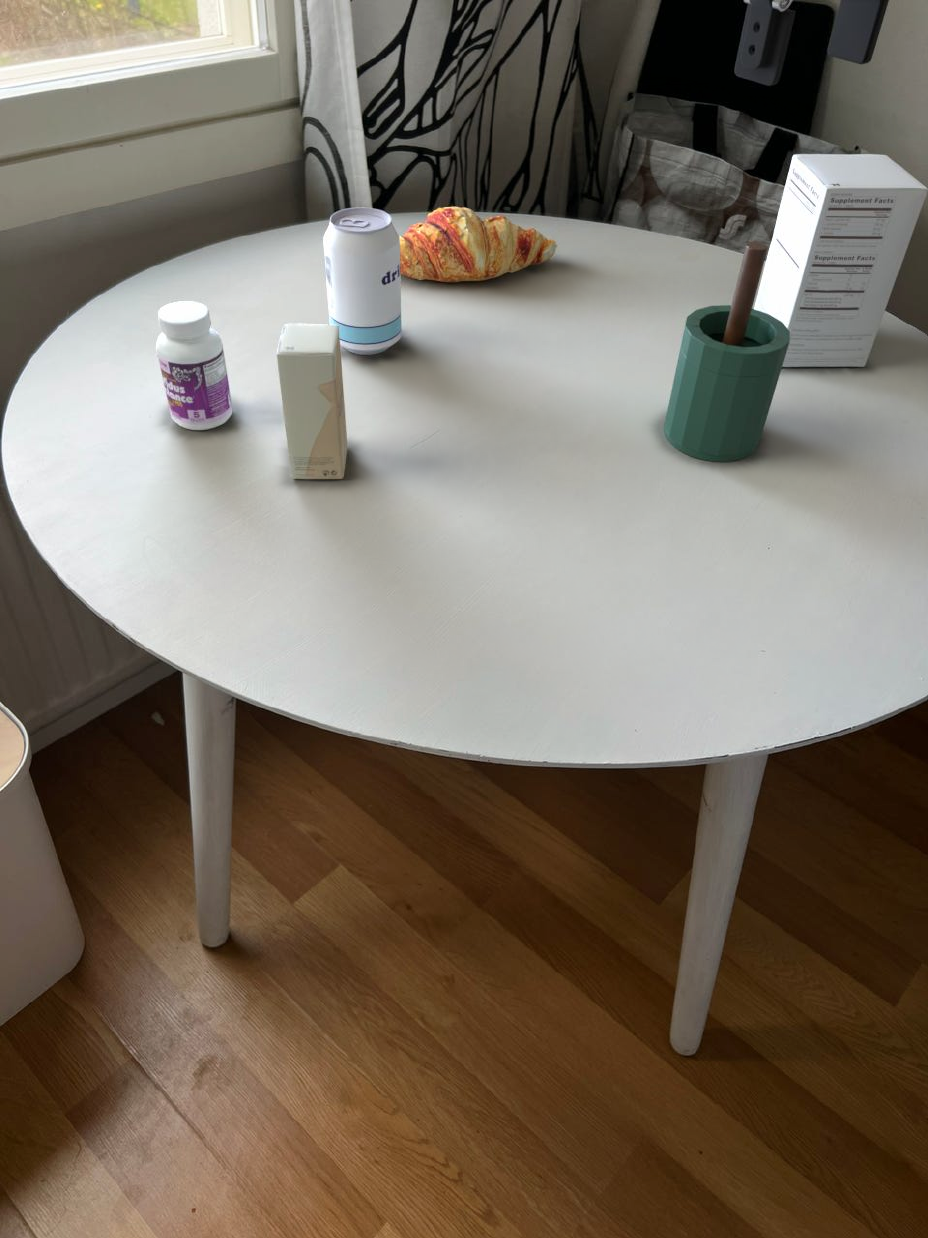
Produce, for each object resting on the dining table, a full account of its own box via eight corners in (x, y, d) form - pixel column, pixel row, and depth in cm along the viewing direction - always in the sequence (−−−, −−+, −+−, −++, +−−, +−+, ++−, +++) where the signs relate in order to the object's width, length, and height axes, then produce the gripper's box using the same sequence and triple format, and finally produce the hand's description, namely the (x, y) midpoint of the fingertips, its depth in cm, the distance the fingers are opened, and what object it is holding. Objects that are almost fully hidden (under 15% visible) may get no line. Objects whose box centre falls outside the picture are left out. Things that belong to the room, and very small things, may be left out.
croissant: (543, 280, 110) (540, 208, 107) (572, 273, 100) (570, 193, 98) (367, 291, 105) (360, 216, 103) (381, 285, 96) (373, 201, 93)
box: (343, 481, 74) (334, 355, 66) (290, 480, 74) (274, 354, 66) (348, 444, 78) (339, 321, 70) (297, 443, 78) (283, 320, 70)
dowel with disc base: (725, 414, 82) (772, 234, 71) (740, 440, 79) (792, 255, 68) (682, 416, 81) (722, 235, 70) (695, 442, 78) (740, 257, 67)
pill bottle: (158, 423, 79) (133, 318, 72) (194, 394, 83) (173, 291, 76) (212, 438, 78) (192, 332, 71) (245, 407, 81) (229, 304, 75)
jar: (739, 407, 84) (767, 303, 77) (772, 459, 78) (806, 351, 71) (652, 412, 83) (673, 306, 76) (679, 464, 77) (704, 355, 70)
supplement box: (867, 368, 90) (933, 189, 78) (775, 369, 89) (828, 188, 77) (832, 322, 96) (889, 151, 85) (746, 323, 96) (791, 150, 84)
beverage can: (391, 364, 88) (388, 238, 79) (322, 355, 88) (311, 229, 80) (409, 330, 93) (407, 208, 84) (343, 322, 93) (335, 200, 85)
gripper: (858, -303, 43) (763, 104, 55) (1045, -289, 51) (927, 64, 62) (733, -304, 47) (671, 74, 59) (924, -291, 55) (835, 40, 67)
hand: (803, 69), depth 61 cm, fingers open, 9 cm apart
